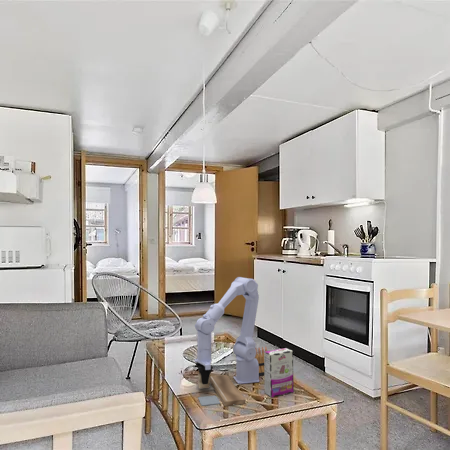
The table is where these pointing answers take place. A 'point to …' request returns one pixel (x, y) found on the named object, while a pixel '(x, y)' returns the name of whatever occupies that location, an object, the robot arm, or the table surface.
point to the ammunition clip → (260, 360)
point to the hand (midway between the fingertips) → (204, 382)
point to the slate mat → (208, 400)
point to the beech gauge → (201, 382)
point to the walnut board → (226, 390)
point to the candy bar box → (278, 372)
